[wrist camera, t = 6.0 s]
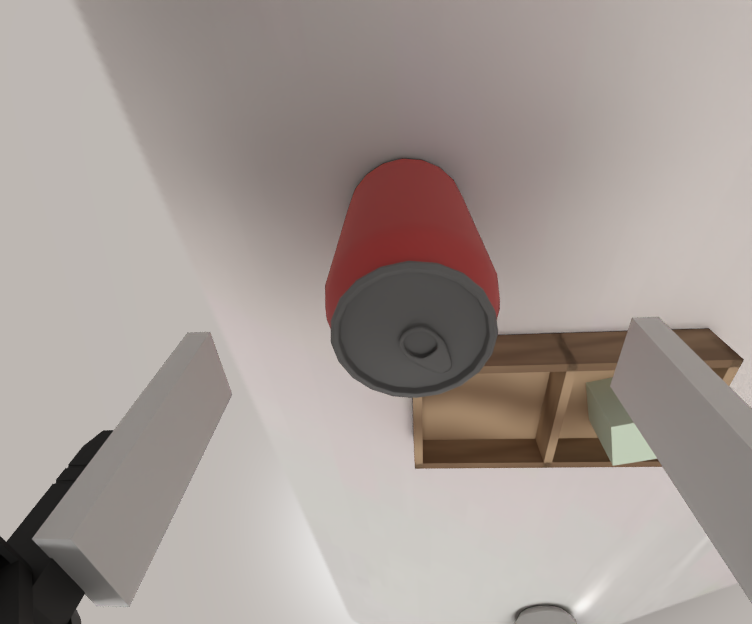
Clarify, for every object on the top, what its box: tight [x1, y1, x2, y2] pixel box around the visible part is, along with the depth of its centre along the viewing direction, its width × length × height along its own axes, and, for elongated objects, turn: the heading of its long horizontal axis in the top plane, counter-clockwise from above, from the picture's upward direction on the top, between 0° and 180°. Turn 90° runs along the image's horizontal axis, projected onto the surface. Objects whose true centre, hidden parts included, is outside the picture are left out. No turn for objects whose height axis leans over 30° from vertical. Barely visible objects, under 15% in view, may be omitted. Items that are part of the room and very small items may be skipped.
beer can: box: [325, 159, 500, 398], centre depth 18 cm, size 7×7×12 cm
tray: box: [412, 329, 744, 469], centre depth 29 cm, size 10×20×3 cm, turn 94°
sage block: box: [586, 377, 657, 466], centre depth 27 cm, size 4×4×4 cm
